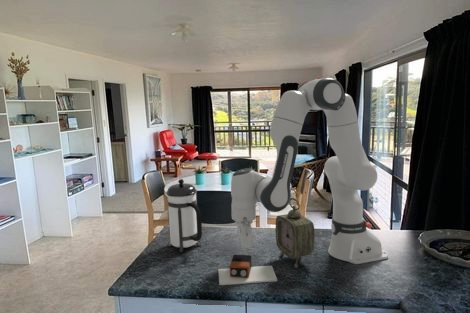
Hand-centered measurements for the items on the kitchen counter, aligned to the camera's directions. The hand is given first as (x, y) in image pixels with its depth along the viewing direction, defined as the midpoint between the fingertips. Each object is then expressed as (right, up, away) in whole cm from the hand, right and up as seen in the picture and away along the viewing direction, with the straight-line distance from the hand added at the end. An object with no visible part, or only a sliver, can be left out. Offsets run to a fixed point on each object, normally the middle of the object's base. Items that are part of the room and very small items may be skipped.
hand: (244, 249), depth 120 cm
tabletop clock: (+20, -6, +7) cm, 22 cm away
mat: (+1, -8, -4) cm, 9 cm away
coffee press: (-25, -5, +22) cm, 33 cm away
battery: (-1, -5, +2) cm, 5 cm away
